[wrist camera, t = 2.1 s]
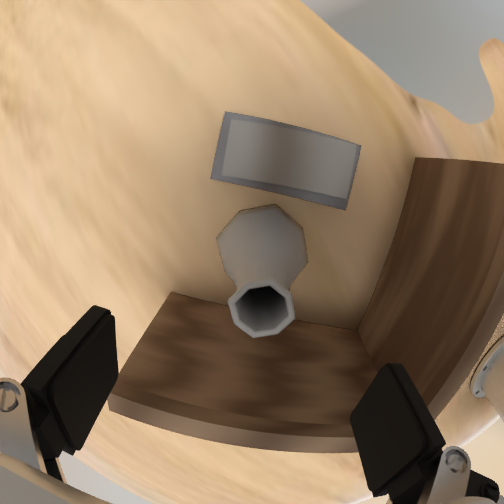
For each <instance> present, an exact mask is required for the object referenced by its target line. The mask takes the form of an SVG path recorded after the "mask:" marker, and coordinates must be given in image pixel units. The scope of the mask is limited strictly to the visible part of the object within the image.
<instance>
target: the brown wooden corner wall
mask: <svg viewBox="0 0 504 504" xmlns="http://www.w3.org/2000/svg"><path fill="white" fill-rule="evenodd" d="M503 313H504V164H499V163H491V162H481V161H470V160H457V159H440V158H415V163H414V167H413V171H412V176H411V180H410V184H409V188H408V192H407V195H406V199H405V203H404V206H403V210H402V213H401V217H400V220H399V223H398V226H397V230H396V233H395V236H394V239H393V242H392V245H391V248H390V251H389V254H388V257H387V259H386V262H385V265H384V268H383V270H382V273H381V276H380V278H379V281H378V283H377V286H376V288H375V291H374V293H373V296H372V298H371V301H370V303H369V306H368V308H367V310H366V313H365V315H364V317H363V319H362V322H361V324H360V326H359V328H358V330H357V331H355V330H349V329H343V328H337V327H331V326H325V325H319V324H313V323H308V322H302V321H297V320H293V321H292V322H291V323H290V324H289V325H287V326H286V327H285V328H284V329H283V330H282V331H281V332H280V333H279V334H276V335H270V336H263V337H257V338H252V337H251V336H250V335H248V334H247V333H246V332H244V331H243V330H241V329H240V328H239V327H237V326H236V325H235V324H234V322H233V319H232V315H231V312H230V308H229V306H225V305H221V304H217V303H212V302H208V301H204V300H200V299H196V298H192V297H188V296H184V295H180V294H176V293H172V292H171V293H170V294H169V296H168V297H167V299H166V300H165V302H164V303H163V305H162V307H161V308H160V310H159V311H158V313H157V314H156V316H155V317H154V319H153V320H152V322H151V323H150V325H149V326H148V328H147V330H146V331H145V333H144V334H143V336H142V337H141V339H140V341H139V342H138V344H137V345H136V347H135V348H134V350H133V352H132V353H131V355H130V356H129V358H128V360H127V361H126V363H125V365H124V366H123V368H122V369H121V371H120V373H119V374H118V379H117V381H116V383H115V385H114V387H113V389H112V391H111V392H110V394H109V396H108V398H107V400H108V405H109V410H110V411H113V412H115V413H118V414H120V415H123V416H126V417H128V418H131V419H134V420H137V421H140V422H143V423H146V424H149V425H152V426H155V427H159V428H162V429H165V430H169V431H172V432H176V433H180V434H184V435H188V436H192V437H196V438H200V439H205V440H209V441H214V442H219V443H225V444H230V445H237V446H243V447H250V448H258V449H266V450H276V451H288V452H305V453H353V452H359V451H358V448H357V444H356V440H355V437H354V433H353V430H352V427H351V423H350V415H351V413H352V411H353V410H354V408H355V407H356V406H357V404H358V403H359V401H360V400H361V398H362V397H363V395H364V394H365V392H366V391H367V389H368V387H369V386H370V384H371V383H372V381H373V379H374V378H375V376H376V375H377V373H378V371H379V370H380V368H381V367H383V366H384V365H385V364H387V363H400V364H402V365H403V366H404V368H405V370H406V371H407V373H408V375H409V376H410V378H411V380H412V381H413V383H414V385H415V387H416V388H417V390H418V392H419V394H420V395H421V397H422V399H423V401H424V402H425V404H426V406H427V408H428V410H429V412H430V413H431V415H432V417H433V419H434V420H435V419H436V417H437V416H438V415H439V414H440V413H441V411H442V410H443V409H444V408H445V406H446V405H447V404H448V403H449V401H450V400H451V399H452V397H453V396H454V395H455V393H456V392H457V391H458V389H459V388H460V386H461V385H462V384H463V382H464V381H465V379H466V378H467V376H468V375H469V373H470V372H471V370H472V369H473V367H474V366H475V364H476V362H477V361H478V359H479V357H480V356H481V354H482V352H483V351H484V349H485V347H486V346H487V344H488V342H489V340H490V338H491V337H492V335H493V333H494V331H495V329H496V327H497V325H498V323H499V321H500V319H501V317H502V315H503Z"/></svg>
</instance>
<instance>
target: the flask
mask: <svg viewBox="0 0 504 504" xmlns="http://www.w3.org/2000/svg"><path fill="white" fill-rule="evenodd" d="M216 240H217V243H218V247H219V251H220V255H221V259H222V263H223V267H224V270H225V272H226V274H227V275H228V276H229V277H230V278H231V280H232V281H233V282H234V284H235V285H236V287H237V291H236V292H235V293H234V294H233V295H232V296H231V297H230V298H229V300H228V305H229V308H230V312H231V315H232V319H233V322H234V324H235V325H236V326H237V327H239V328H240V329H241V330H243V331H244V332H246V333H247V334H248V335H250V336H251V337H252V338H257V337H263V336H270V335H276V334H279V333H280V332H281V331H282V330H283V329H284V328H285V327H286V326H287V325H289V324H290V323H291V322H292V321H293V320H294V319H295V311H294V305H293V299H292V294H291V292H290V291H289V288H290V285H291V284H292V282H293V281H294V279H295V278H296V277H297V275H298V274H299V272H300V271H301V270H302V269H303V268H304V267H305V265H306V264H307V263H308V258H307V252H306V245H305V239H304V233H303V228H302V227H301V226H300V225H299V224H297V223H296V222H295V221H294V220H293V219H292V218H291V217H290V216H289V215H287V214H286V213H285V212H284V211H283V210H282V209H281V208H280V207H279V206H277V205H276V204H273V205H268V206H263V207H258V208H253V209H248V210H243V211H239V212H238V213H237V215H236V216H235V217H234V218H233V219H232V220H231V221H230V223H229V224H228V225H227V226H226V227H225V228H224V230H223V231H222V232H221V233H220V234H219V235H218V237H217V238H216Z"/></svg>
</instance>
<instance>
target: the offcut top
mask: <svg viewBox="0 0 504 504" xmlns="http://www.w3.org/2000/svg"><path fill="white" fill-rule="evenodd" d="M356 148H357V145H355V144H351V143H348V142H344V141H340V140H336V139H332V138H329V137H324V136H320V135H316V134H312V133H307V132H303V131H298V130H293V129H288V128H283V127H278V126H272V125H266V124H260V123H254V122H248V121H241V120H233V119H231V124H230V129H229V135H228V141H227V147H226V152H225V158H224V164H223V171H222V175H223V176H230V177H236V178H242V179H249V180H255V181H260V182H266V183H272V184H277V185H282V186H288V187H293V188H298V189H303V190H308V191H312V192H317V193H322V194H326V195H331V196H335V197H340V198H344V199H347V195H348V190H349V185H350V180H351V175H352V170H353V164H354V159H355V153H356Z"/></svg>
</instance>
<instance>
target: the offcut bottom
mask: <svg viewBox="0 0 504 504" xmlns="http://www.w3.org/2000/svg"><path fill="white" fill-rule="evenodd" d="M231 119H233V120H241V121H248V122H254V123H260V124H266V125H272V126H278V127H283V128H288V129H293V130H298V131H303V132H307V133H312V134H316V135H320V136H324V137H329V138H332V139H336V140H340V141H344V142H348V143H351V144H355V143H352V142H349V141H346V140H343V139H339V138H336V137H333V136H330V135H326V134H323V133H319V132H316V131H312V130H309V129H305V128H301V127H297V126H293V125H289V124H285V123H281V122H276V121H272V120H267V119H263V118H258V117H253V116H248V115H243V114H237V113H231V112H225V114H224V118H223V123H222V127H221V131H220V136H219V140H218V145H217V150H216V154H215V159H214V164H213V169H212V174H211V179H213V180H219V181H224V182H229V183H233V184H238V185H243V186H248V187H252V188H257V189H261V190H266V191H270V192H275V193H279V194H283V195H287V196H291V197H295V198H300V199H304V200H308V201H311V202H315V203H319V204H323V205H327V206H331V207H334V208H338V209H342V210H346V206H347V203H348V199H349V195H350V191H351V187H352V183H353V179H354V175H355V171H356V167H357V163H358V159H359V154H360V150H361V145H358V144H355V145H357V148H356V153H355V159H354V164H353V170H352V175H351V180H350V185H349V190H348V195H347V199H344V198H340V197H335V196H331V195H326V194H322V193H317V192H312V191H308V190H303V189H298V188H293V187H288V186H282V185H277V184H272V183H266V182H260V181H255V180H249V179H242V178H236V177H230V176H223V175H222V171H223V164H224V158H225V152H226V147H227V141H228V135H229V129H230V124H231Z"/></svg>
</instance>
